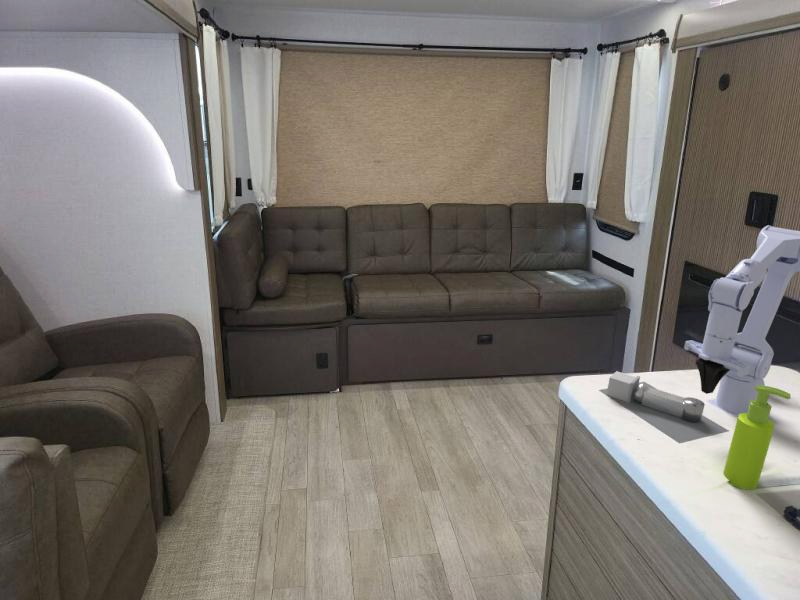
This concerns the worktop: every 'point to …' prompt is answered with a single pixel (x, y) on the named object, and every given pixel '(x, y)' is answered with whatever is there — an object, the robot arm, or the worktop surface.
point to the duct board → (657, 411)
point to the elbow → (670, 403)
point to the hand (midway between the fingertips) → (707, 391)
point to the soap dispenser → (751, 440)
